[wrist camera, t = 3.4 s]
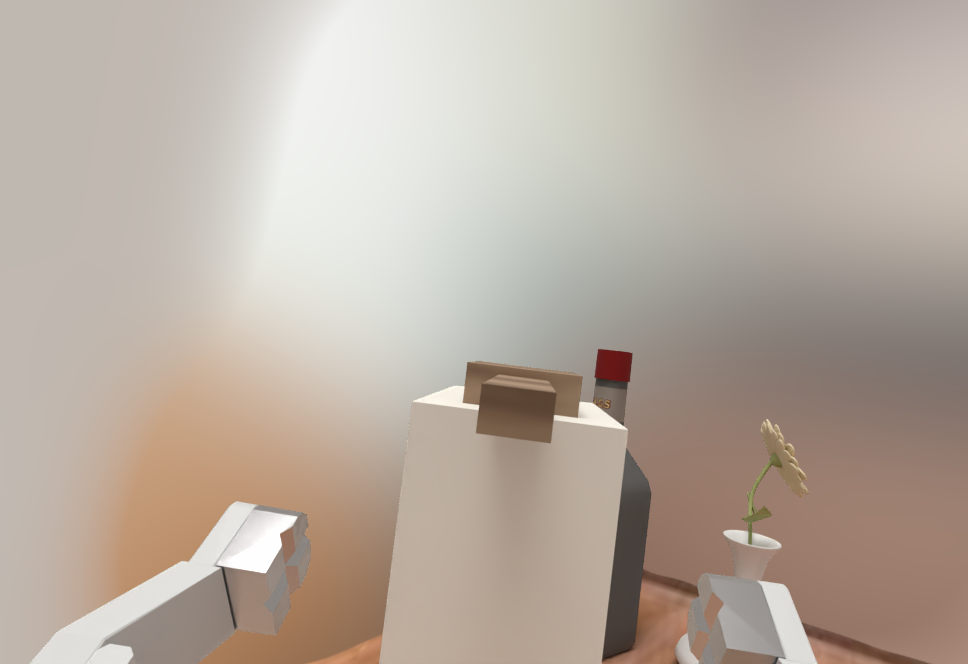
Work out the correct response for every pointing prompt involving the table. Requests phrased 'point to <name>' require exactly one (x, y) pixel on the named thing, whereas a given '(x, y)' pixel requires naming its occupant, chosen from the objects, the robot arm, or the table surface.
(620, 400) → the liquor
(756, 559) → the flower in vase
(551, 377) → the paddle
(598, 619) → the stand
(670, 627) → the table surface
